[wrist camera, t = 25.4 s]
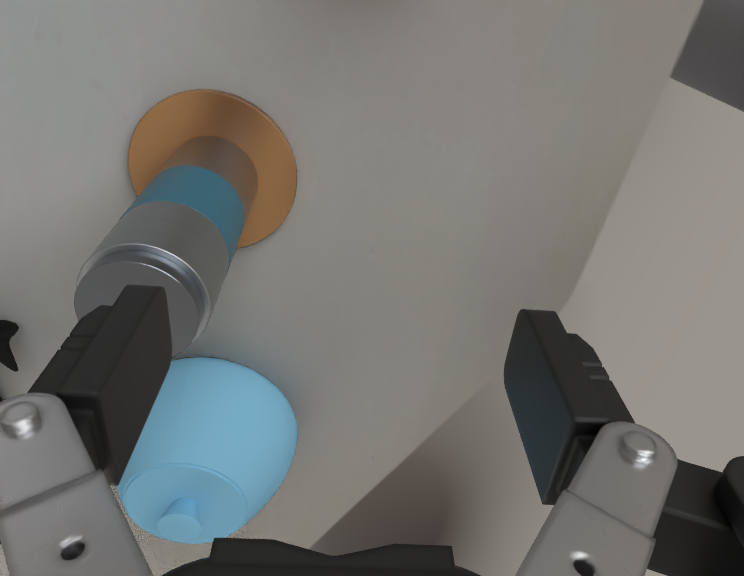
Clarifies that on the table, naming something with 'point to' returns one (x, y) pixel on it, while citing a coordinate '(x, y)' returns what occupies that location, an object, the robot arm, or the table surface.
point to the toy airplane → (7, 344)
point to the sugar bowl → (208, 452)
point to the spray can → (177, 236)
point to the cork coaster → (228, 121)
